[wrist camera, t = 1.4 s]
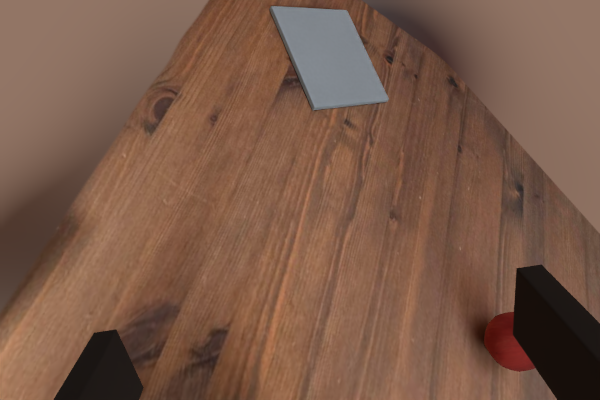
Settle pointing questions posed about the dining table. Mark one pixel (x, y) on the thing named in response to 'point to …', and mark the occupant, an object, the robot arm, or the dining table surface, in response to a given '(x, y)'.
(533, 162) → the dining table surface
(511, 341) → the onion
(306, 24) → the mat
